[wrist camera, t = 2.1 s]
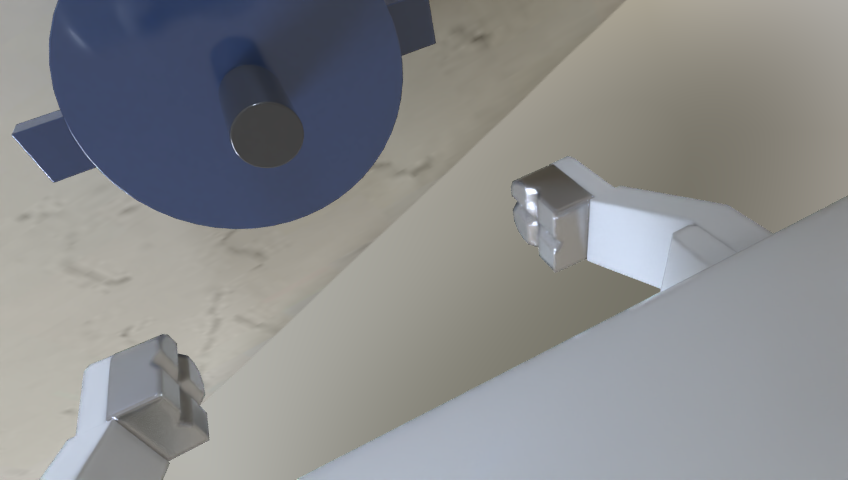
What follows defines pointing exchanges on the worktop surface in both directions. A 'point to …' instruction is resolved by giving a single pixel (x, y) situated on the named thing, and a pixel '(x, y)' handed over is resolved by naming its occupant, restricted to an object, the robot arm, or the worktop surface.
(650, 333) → the robot arm
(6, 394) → the worktop surface
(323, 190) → the lid
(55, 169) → the pot
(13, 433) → the worktop surface
